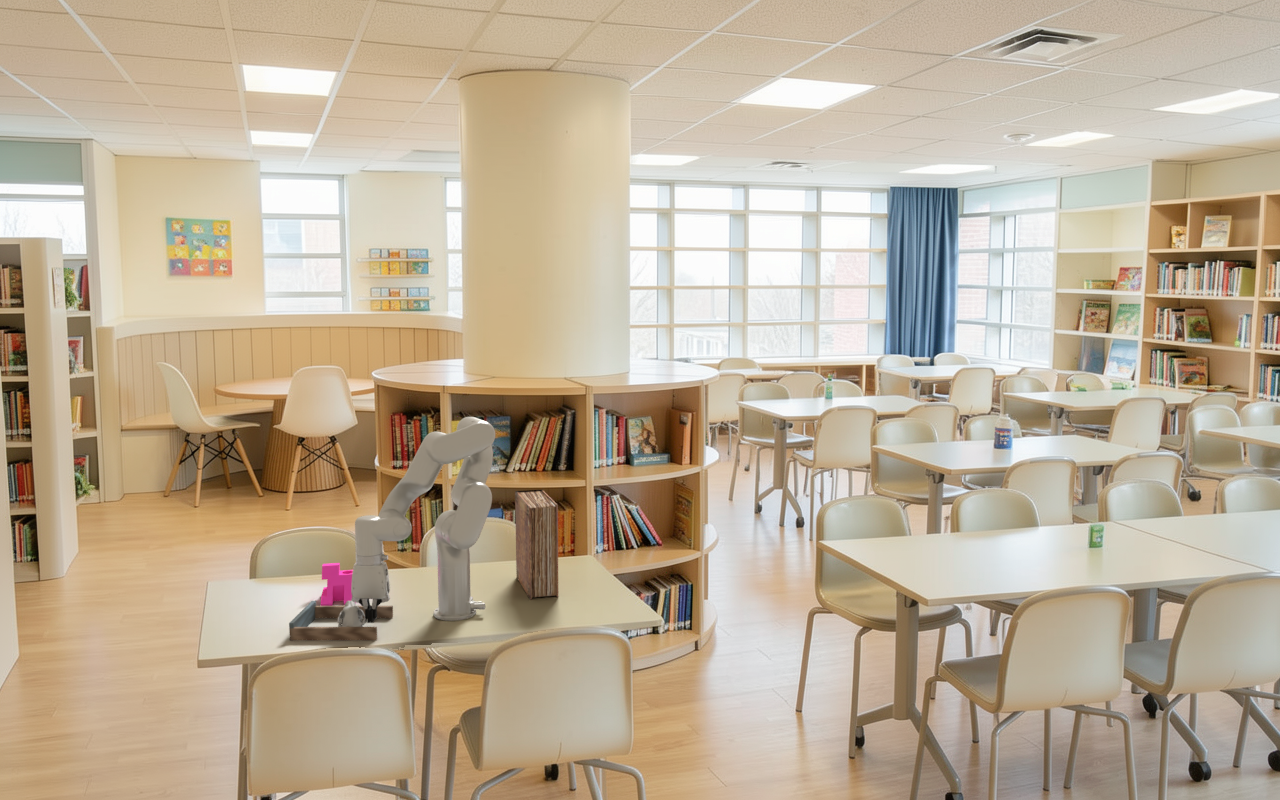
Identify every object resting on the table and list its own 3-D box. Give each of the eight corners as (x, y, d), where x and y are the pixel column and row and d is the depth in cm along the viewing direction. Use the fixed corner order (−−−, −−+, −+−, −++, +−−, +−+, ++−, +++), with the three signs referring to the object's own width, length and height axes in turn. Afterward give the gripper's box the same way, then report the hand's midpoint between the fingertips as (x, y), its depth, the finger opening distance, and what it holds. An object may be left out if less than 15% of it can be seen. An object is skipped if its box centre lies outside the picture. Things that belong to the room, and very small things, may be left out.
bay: (393, 617, 290) (392, 600, 289) (376, 640, 270) (375, 623, 270) (312, 617, 289) (311, 600, 289) (289, 640, 270) (289, 623, 270)
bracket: (324, 595, 311) (322, 563, 310) (357, 592, 313) (356, 561, 312) (320, 606, 299) (319, 574, 298) (355, 604, 302) (354, 572, 300)
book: (558, 597, 308) (557, 504, 305) (529, 600, 306) (528, 506, 302) (542, 575, 332) (542, 489, 329) (516, 577, 330) (515, 490, 326)
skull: (336, 629, 272) (334, 591, 279) (339, 643, 278) (337, 606, 286) (365, 624, 274) (362, 587, 281) (368, 639, 280) (364, 602, 288)
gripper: (398, 555, 281) (400, 616, 284) (347, 555, 281) (348, 616, 283) (392, 562, 274) (394, 625, 276) (339, 562, 274) (341, 625, 276)
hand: (371, 621), depth 280 cm, fingers closed
